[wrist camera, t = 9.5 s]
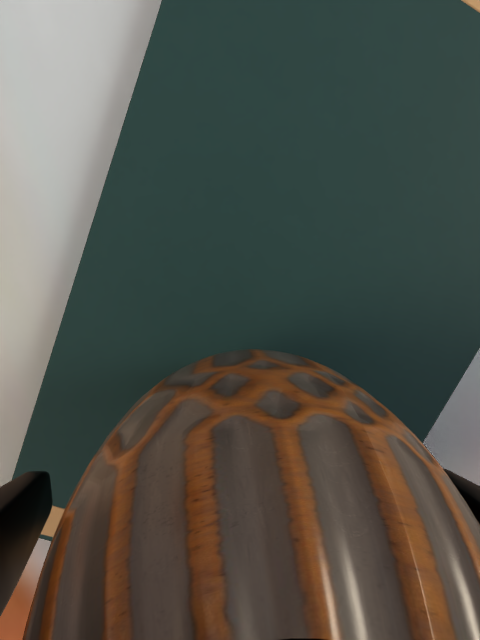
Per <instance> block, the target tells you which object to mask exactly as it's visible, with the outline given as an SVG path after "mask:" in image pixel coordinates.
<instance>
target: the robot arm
mask: <svg viewBox="0 0 480 640" xmlns="http://www.w3.org/2000/svg"><path fill="white" fill-rule="evenodd" d="M443 470H444V471H445V472H446V474H447V475H448V477H449V478H450V479H451V481H452V482H453V484H454V485H455V487H456V488H457V490H458V491H459V493H460V494H461V496H462V497H463V498H464V500H465V501H466V503H467V505H468V506H469V508H470V510H471V511H472V513H473V515H474V516H475V518H476V519H477V521H478V523H479V524H480V486H478V485H476V484H474V483H472V482H470V481H468V480H467V479H465V478H463V477H461V476H459V475H457V474H455V473H453V472H451V471H449V470H447V469H443ZM52 503H53V499H52V490H51V480H50V475H49V473H48V472H46V471H29V472H26V473H24V474H22V475H20V476H19V477H17V478H15V479H14V480H12V481H10V482H8V483H7V484H5V485H3V486H2V487H0V616H1V614H2V612H3V610H4V609H5V607H6V605H7V603H8V601H9V599H10V597H11V595H12V593H13V591H14V589H15V587H16V585H17V583H18V581H19V579H20V577H21V575H22V573H23V570H24V568H25V566H26V564H27V562H28V560H29V558H30V555H31V553H32V551H33V549H34V547H35V545H36V543H37V541H38V538H39V536H40V534H41V532H42V530H43V528H44V526H45V523H46V521H47V519H48V517H49V515H50V512H51V509H52Z"/></svg>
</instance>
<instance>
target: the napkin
mask: <svg viewBox="0 0 480 640" xmlns="http://www.w3.org/2000/svg"><path fill="white" fill-rule="evenodd" d="M479 348H480V0H162V2H161V5H160V9H159V12H158V15H157V18H156V21H155V25H154V28H153V31H152V34H151V37H150V41H149V44H148V47H147V50H146V53H145V57H144V60H143V63H142V66H141V69H140V72H139V76H138V79H137V82H136V85H135V88H134V92H133V95H132V98H131V101H130V104H129V108H128V111H127V114H126V117H125V120H124V124H123V127H122V130H121V133H120V136H119V140H118V143H117V146H116V149H115V152H114V155H113V159H112V162H111V165H110V168H109V171H108V175H107V178H106V181H105V184H104V187H103V191H102V194H101V197H100V200H99V203H98V207H97V210H96V213H95V216H94V219H93V222H92V226H91V229H90V232H89V235H88V238H87V242H86V245H85V248H84V251H83V254H82V258H81V261H80V264H79V267H78V270H77V274H76V277H75V280H74V283H73V286H72V290H71V293H70V296H69V299H68V302H67V305H66V309H65V312H64V315H63V318H62V321H61V325H60V328H59V331H58V334H57V337H56V341H55V344H54V347H53V350H52V353H51V357H50V360H49V363H48V366H47V369H46V372H45V376H44V379H43V382H42V385H41V388H40V392H39V395H38V398H37V401H36V404H35V408H34V411H33V414H32V417H31V420H30V424H29V427H28V430H27V433H26V436H25V440H24V443H23V446H22V449H21V452H20V455H19V459H18V462H17V465H16V468H15V471H14V475H13V478H12V480H14V479H15V478H17V477H19V476H20V475H22V474H24V473H26V472H29V471H46V472H48V473H49V475H50V480H51V490H52V499H53V503H52V509H51V512H50V515H49V517H48V519H47V521H46V523H45V526H44V528H43V530H42V532H41V534H40V536H39V538H41V539H45V540H49V541H52V539H53V536H54V534H55V531H56V529H57V526H58V524H59V522H60V519H61V517H62V515H63V513H64V510H65V508H66V506H67V503H68V501H69V499H70V497H71V495H72V493H73V491H74V489H75V487H76V486H77V484H78V482H79V480H80V479H81V477H82V475H83V473H84V472H85V470H86V468H87V467H88V465H89V463H90V462H91V460H92V459H93V457H94V455H95V454H96V452H97V451H98V450H99V448H100V447H101V445H102V444H103V442H104V441H105V439H106V438H107V436H108V435H109V434H110V433H111V431H112V430H113V429H114V427H115V426H116V425H117V424H118V422H119V421H120V420H121V419H122V418H123V416H124V415H125V414H126V413H127V412H128V410H129V409H130V408H131V407H132V406H133V405H134V404H135V403H136V402H137V401H138V400H139V399H140V398H141V397H142V396H143V395H144V394H146V393H147V392H148V391H149V390H151V389H152V388H153V387H154V386H156V385H157V384H158V383H159V382H161V381H162V380H163V379H165V378H166V377H168V376H169V375H171V374H172V373H174V372H176V371H177V370H179V369H181V368H183V367H185V366H187V365H189V364H191V363H193V362H196V361H198V360H201V359H204V358H206V357H209V356H212V355H216V354H219V353H224V352H229V351H236V350H248V349H259V350H271V351H278V352H284V353H289V354H293V355H297V356H300V357H304V358H307V359H309V360H312V361H314V362H317V363H319V364H322V365H324V366H326V367H329V368H331V369H332V370H334V371H336V372H338V373H340V374H342V375H343V376H345V377H346V378H348V379H349V380H351V381H352V382H354V383H355V384H357V385H358V386H360V387H361V388H362V389H364V390H365V391H366V392H368V393H369V394H370V395H372V396H373V397H374V398H375V399H376V400H378V401H379V402H380V403H381V404H383V405H384V406H385V407H386V408H387V409H389V410H390V411H391V412H392V413H393V414H394V415H395V416H396V417H397V418H398V419H399V420H400V421H401V422H402V423H403V424H404V425H405V426H406V427H407V428H408V429H409V430H410V431H411V432H412V433H413V434H415V436H416V437H417V438H418V439H419V440H420V441H421V442H422V443H423V441H424V440H425V438H426V436H427V435H428V433H429V431H430V430H431V428H432V426H433V425H434V423H435V421H436V420H437V418H438V416H439V415H440V413H441V411H442V410H443V408H444V406H445V405H446V403H447V401H448V400H449V398H450V396H451V395H452V393H453V391H454V390H455V388H456V386H457V385H458V383H459V381H460V380H461V378H462V376H463V375H464V373H465V371H466V370H467V368H468V366H469V365H470V363H471V361H472V360H473V358H474V356H475V355H476V353H477V351H478V350H479Z"/></svg>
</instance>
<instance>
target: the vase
mask: <svg viewBox="0 0 480 640" xmlns="http://www.w3.org/2000/svg"><path fill="white" fill-rule="evenodd" d="M23 640H480V524H479V523H478V521H477V519H476V518H475V516H474V515H473V513H472V511H471V510H470V508H469V506H468V505H467V503H466V501H465V500H464V498H463V497H462V496H461V494H460V493H459V491H458V490H457V488H456V487H455V485H454V484H453V482H452V481H451V479H450V478H449V477H448V475H447V474H446V472H445V471H444V470H443V468H442V467H441V466H440V464H439V463H438V462H437V461H436V459H435V458H434V457H433V456H432V454H431V453H430V452H429V451H428V449H427V448H426V447H425V446H424V445H423V443H422V442H421V441H420V440H419V439H418V438H417V437H416V436H415V434H413V433H412V432H411V431H410V430H409V429H408V428H407V427H406V426H405V425H404V424H403V423H402V422H401V421H400V420H399V419H398V418H397V417H396V416H395V415H394V414H393V413H392V412H391V411H390V410H389V409H387V408H386V407H385V406H384V405H383V404H381V403H380V402H379V401H378V400H376V399H375V398H374V397H373V396H372V395H370V394H369V393H368V392H366V391H365V390H364V389H362V388H361V387H360V386H358V385H357V384H355V383H354V382H352V381H351V380H349V379H348V378H346V377H345V376H343V375H342V374H340V373H338V372H336V371H334V370H332V369H331V368H329V367H326V366H324V365H322V364H319V363H317V362H314V361H312V360H309V359H307V358H304V357H300V356H297V355H293V354H289V353H284V352H278V351H271V350H259V349H248V350H236V351H229V352H224V353H219V354H216V355H212V356H209V357H206V358H204V359H201V360H198V361H196V362H193V363H191V364H189V365H187V366H185V367H183V368H181V369H179V370H177V371H176V372H174V373H172V374H171V375H169V376H168V377H166V378H165V379H163V380H162V381H161V382H159V383H158V384H157V385H156V386H154V387H153V388H152V389H151V390H149V391H148V392H147V393H146V394H144V395H143V396H142V397H141V398H140V399H139V400H138V401H137V402H136V403H135V404H134V405H133V406H132V407H131V408H130V409H129V410H128V412H127V413H126V414H125V415H124V416H123V418H122V419H121V420H120V421H119V422H118V424H117V425H116V426H115V427H114V429H113V430H112V431H111V433H110V434H109V435H108V436H107V438H106V439H105V441H104V442H103V444H102V445H101V447H100V448H99V450H98V451H97V452H96V454H95V455H94V457H93V459H92V460H91V462H90V463H89V465H88V467H87V468H86V470H85V472H84V473H83V475H82V477H81V479H80V480H79V482H78V484H77V486H76V487H75V489H74V491H73V493H72V495H71V497H70V499H69V501H68V503H67V506H66V508H65V510H64V513H63V515H62V517H61V519H60V522H59V524H58V526H57V529H56V531H55V534H54V536H53V539H52V542H51V544H50V547H49V550H48V553H47V556H46V559H45V562H44V565H43V568H42V571H41V574H40V577H39V581H38V584H37V588H36V591H35V595H34V598H33V602H32V605H31V609H30V613H29V616H28V620H27V623H26V627H25V631H24V636H23Z"/></svg>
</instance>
